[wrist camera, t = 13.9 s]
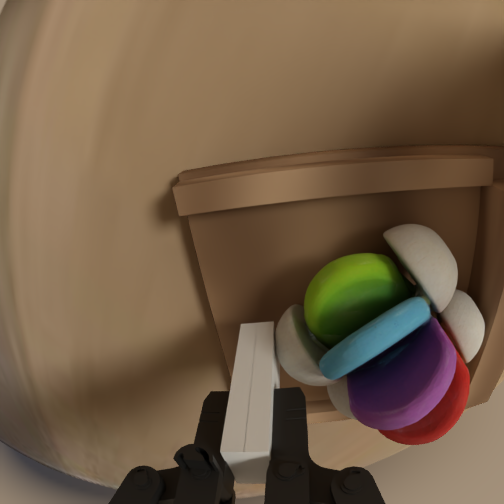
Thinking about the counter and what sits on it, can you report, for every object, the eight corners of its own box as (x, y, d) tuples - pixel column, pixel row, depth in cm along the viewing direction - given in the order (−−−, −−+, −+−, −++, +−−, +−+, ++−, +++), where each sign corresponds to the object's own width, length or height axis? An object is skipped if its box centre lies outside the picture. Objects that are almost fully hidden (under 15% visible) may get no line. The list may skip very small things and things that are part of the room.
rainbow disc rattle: (356, 392, 18) (374, 494, 11) (249, 296, 15) (229, 427, 9) (472, 315, 15) (530, 407, 8) (396, 181, 12) (495, 261, 6)
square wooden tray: (244, 408, 20) (239, 454, 17) (183, 171, 13) (151, 194, 10) (461, 376, 18) (479, 414, 15) (506, 146, 11) (554, 163, 8)
